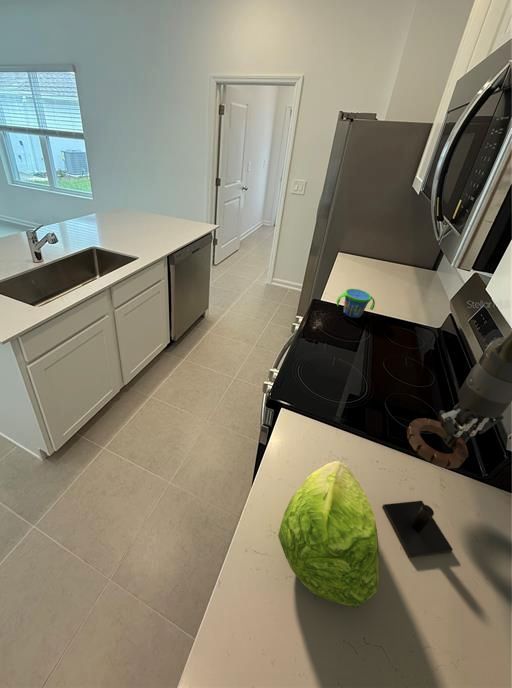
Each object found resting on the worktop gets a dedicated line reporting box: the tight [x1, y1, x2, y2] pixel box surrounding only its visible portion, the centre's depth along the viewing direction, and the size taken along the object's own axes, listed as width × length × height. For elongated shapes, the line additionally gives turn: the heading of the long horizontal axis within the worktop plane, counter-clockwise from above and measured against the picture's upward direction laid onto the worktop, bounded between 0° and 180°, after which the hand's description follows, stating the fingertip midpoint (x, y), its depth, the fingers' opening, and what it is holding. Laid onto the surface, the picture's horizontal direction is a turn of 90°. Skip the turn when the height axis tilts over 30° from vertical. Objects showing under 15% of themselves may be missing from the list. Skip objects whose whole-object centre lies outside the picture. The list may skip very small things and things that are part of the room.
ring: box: [406, 417, 469, 470], centre depth 68 cm, size 11×11×2 cm
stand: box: [381, 500, 454, 558], centre depth 61 cm, size 9×9×7 cm
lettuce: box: [277, 460, 380, 608], centre depth 58 cm, size 17×24×14 cm
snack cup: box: [336, 288, 376, 319], centre depth 134 cm, size 16×10×10 cm
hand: (452, 442), depth 69 cm, fingers closed on ring, 2 cm apart
